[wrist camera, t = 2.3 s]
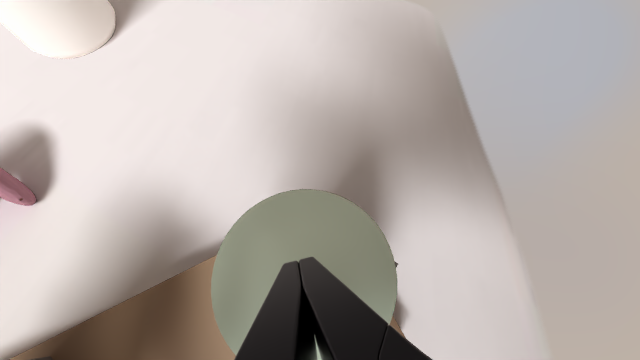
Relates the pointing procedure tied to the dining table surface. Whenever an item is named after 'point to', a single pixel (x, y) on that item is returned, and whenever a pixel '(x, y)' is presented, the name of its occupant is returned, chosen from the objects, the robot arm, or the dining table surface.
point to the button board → (150, 326)
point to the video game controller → (15, 190)
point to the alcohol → (59, 25)
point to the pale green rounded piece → (299, 256)
